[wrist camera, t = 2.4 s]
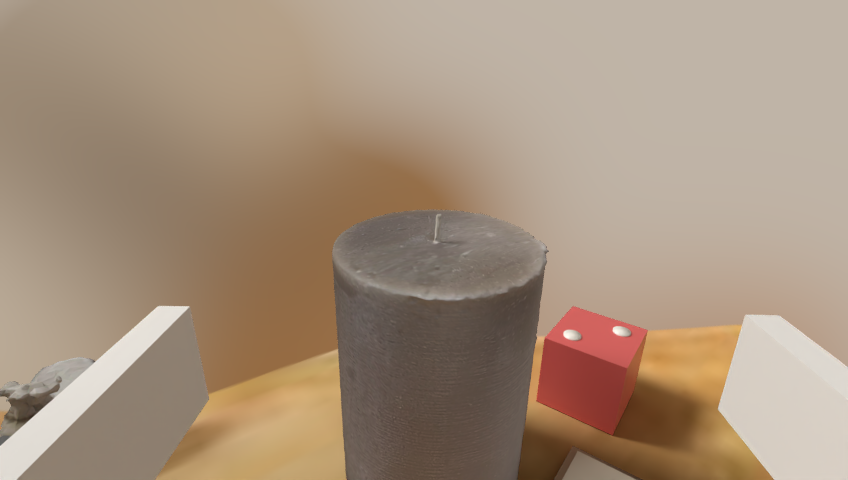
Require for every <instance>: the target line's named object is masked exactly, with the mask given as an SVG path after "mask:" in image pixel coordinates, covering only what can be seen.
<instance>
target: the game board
mask: <svg viewBox="0 0 848 480" xmlns="http://www.w3.org/2000/svg"><path fill="white" fill-rule="evenodd" d="M554 480H642V479H640V478H638V477H636V476H634V475H632V474H630V473H628V472H626V471H624V470H622V469H620V468H618V467H615V466H613V465H611V464H609V463H607V462H605V461H603V460H601V459H599V458H597V457H595V456H593V455H591V454H589V453H587V452H585V451H583V450H581V449H579V448H577V447H575V446H572V448H571V450H570V452H569V454H568V455H567V457H566V459H565V461H564V462H563V464H562V466H561V468H560V469H559V471H558V473H557V475H556V476H555V478H554Z"/></svg>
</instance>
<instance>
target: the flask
mask: <svg viewBox="0 0 848 480" xmlns="http://www.w3.org/2000/svg"><path fill="white" fill-rule="evenodd" d="M93 363H95V361H94V360H92V359H88V358H82V357H79V358H73V359H69V360H65V361H60V362H57V363H55V364H53V365H51V366H48V367H45V368H42V369H41V371H39V372H38V373H37V374H36V375H35V377H34V378H33V380H32V381H31V383H29V384H24V385H20V384H18V382H15V381H13V382H8V383H7V384H6V385H4V386H3V387H2V388H1V389H0V396H5V397H7V398H8V399H7V400H6V401H9V402H10V404H11V407H10V409H9V411H8V413H7V414H6V415H5V416H4V420H3V423H2V425H1V427H2V429H1V430H0V437H2V436H12V435H13V434H14V433H15V432H17V431H18V430H19V429H20V428H21V427H22V426H23V425H24V424H26V423H27V422H28V421H29V420H30V419H31V418H32V417H34V416H35V415H36V414H37V413H38V412H39V411H40V410H41V409H43V408H44V407H45V406H46V405H47V404H48V403H49V402H50V401H52V400H53V399H54V398H55V397H56V396H57V395H58V394H60V393H61V392H62V391H63V390H64V389H65V388H66V387H67V386H69V385H70V384H71V383H72V382H73V381H74V380H75V379H76V378H78V377H79V376H80V375H81V374H82V373H83V372H84V371H86V370H87V369H88V368H89V367H90V366H91V365H92V364H93Z"/></svg>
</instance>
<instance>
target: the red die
mask: <svg viewBox="0 0 848 480" xmlns="http://www.w3.org/2000/svg"><path fill="white" fill-rule="evenodd" d="M647 331H648V330H646V329H642V328H640V327H636V326H633V325H630V324H627V323H624V322H621V321H618V320H614V319H611V318H608V317H605V316H602V315H599V314H596V313H592V312H589V311H586V310H583V309H580V308H577V307H572V308H571V309H570V310H569V311H568V312H567V313H566V315H565V316H564V317H563V318H562V319H561V320H560V321H559V322H558V324H557V325H556V326H555V327H554V328H553V329H552V330H551V331H550V333H549V334H548V335H547V336H546V337H545V340H544V348H543V355H542V363H541V370H540V378H539V385H538V393H537V400H536V401H538V402H540V403H542V404H545V405H547V406H549V407H551V408H553V409H556V410H558V411H560V412H562V413H564V414H567V415H569V416H571V417H573V418H575V419H578V420H580V421H582V422H584V423H586V424H589V425H591V426H593V427H595V428H597V429H600V430H602V431H604V432H606V433H608V434H611V435H613V434H614V432H615V430H616V427H617V425H618V423H619V421H620V419H621V417H622V415H623V413H624V411H625V409H626V407H627V404H628V402H629V400H630V398H631V396H632V394H633V392H634V388H635V384H636V379H637V375H638V370H639V366H640V362H641V357H642V353H643V349H644V344H645V340H646V336H647Z"/></svg>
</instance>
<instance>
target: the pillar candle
mask: <svg viewBox="0 0 848 480" xmlns="http://www.w3.org/2000/svg"><path fill="white" fill-rule="evenodd" d="M547 252H548V250H547V247H546V245H545V244H544V243H542V242H541V241H538V240H536V239H535V238H534V236H532V235H530V234H529V233H528V232H526V231H524V230H523V229H521V228H520V227H517V226H515V225H513V224H511V223H508V222H506V221H503V220H499V219H497V218H493V217H491V216H487V215H483V214H474V213H470V212H464V211H451V210H415V211H404V212H398V213H390V214H385V215H383V216H378V217H374V218H371V219H368V220H366V221H363V222H361V223H357V224H355V225H353V226H352V227H351V228H349V229H348V230H346V231H345V232H343V233H342V234H341V235H340V236H339V237H338V238H337V240H336V241H335V243H334V246H333V253H332V256H333V271H334V290H335V304H336V320H337V336H338V353H339V369H340V388H341V405H342V420H343V437H344V451H345V464H346V476H347V480H517V479H518V468H519V463H520V456H521V447H522V438H523V433H524V426H525V420H526V412H527V404H528V395H529V387H530V380H531V372H532V364H533V354H534V349H535V343H536V339H537V337H536V333H537V326H538V321H539V308H540V300H541V294H542V286H543V278H544V270H545V265H546V263H547V260H546V253H547Z"/></svg>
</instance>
